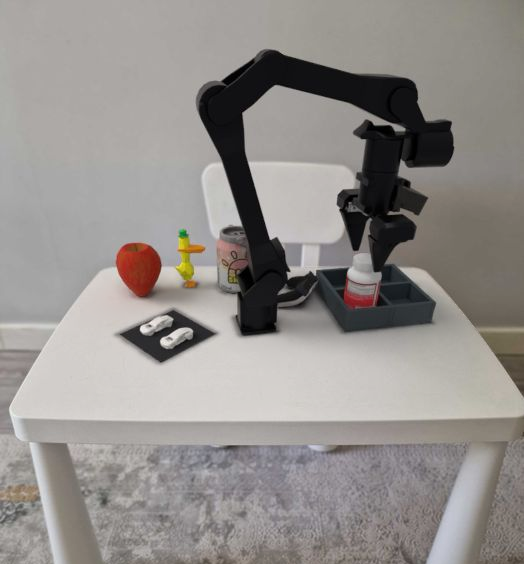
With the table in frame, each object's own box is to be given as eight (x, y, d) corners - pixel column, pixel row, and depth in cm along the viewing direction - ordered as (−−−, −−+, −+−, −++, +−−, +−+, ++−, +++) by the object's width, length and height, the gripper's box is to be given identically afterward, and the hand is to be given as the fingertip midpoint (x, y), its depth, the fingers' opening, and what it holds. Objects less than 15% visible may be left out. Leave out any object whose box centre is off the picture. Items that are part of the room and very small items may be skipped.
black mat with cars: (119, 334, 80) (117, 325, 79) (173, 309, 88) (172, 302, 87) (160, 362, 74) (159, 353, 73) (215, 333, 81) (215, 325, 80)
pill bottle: (356, 301, 90) (365, 248, 83) (381, 313, 86) (392, 259, 80) (335, 310, 86) (342, 256, 80) (359, 324, 83) (369, 268, 76)
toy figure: (208, 281, 98) (205, 227, 91) (206, 289, 95) (203, 234, 88) (176, 281, 98) (171, 226, 91) (174, 288, 95) (168, 233, 88)
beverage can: (255, 274, 101) (256, 221, 94) (265, 292, 94) (267, 236, 87) (214, 279, 99) (211, 225, 92) (222, 297, 92) (220, 240, 85)
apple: (167, 284, 96) (161, 235, 90) (161, 304, 89) (154, 252, 83) (126, 284, 96) (118, 235, 90) (117, 304, 89) (107, 252, 83)
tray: (344, 332, 82) (347, 311, 80) (314, 288, 96) (316, 269, 94) (431, 322, 86) (436, 302, 83) (389, 281, 99) (393, 263, 97)
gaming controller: (281, 319, 89) (308, 303, 85) (267, 302, 89) (293, 284, 84) (299, 295, 98) (323, 279, 93) (286, 279, 97) (310, 262, 92)
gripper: (459, 182, 65) (434, 280, 74) (399, 153, 80) (384, 238, 89) (388, 186, 63) (371, 286, 72) (340, 155, 78) (331, 242, 87)
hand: (365, 260), depth 80 cm, fingers open, 9 cm apart
